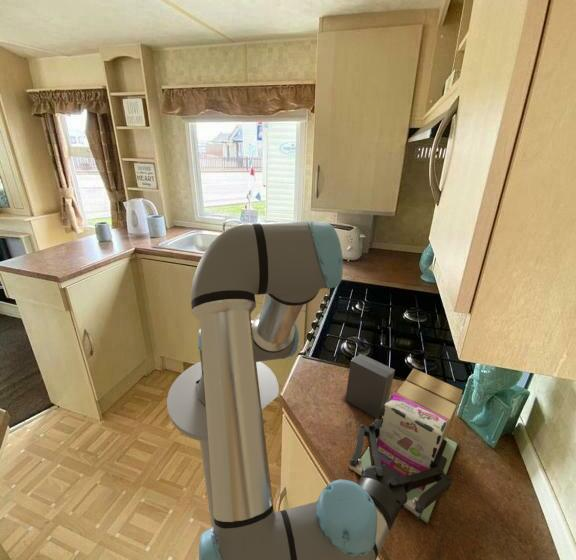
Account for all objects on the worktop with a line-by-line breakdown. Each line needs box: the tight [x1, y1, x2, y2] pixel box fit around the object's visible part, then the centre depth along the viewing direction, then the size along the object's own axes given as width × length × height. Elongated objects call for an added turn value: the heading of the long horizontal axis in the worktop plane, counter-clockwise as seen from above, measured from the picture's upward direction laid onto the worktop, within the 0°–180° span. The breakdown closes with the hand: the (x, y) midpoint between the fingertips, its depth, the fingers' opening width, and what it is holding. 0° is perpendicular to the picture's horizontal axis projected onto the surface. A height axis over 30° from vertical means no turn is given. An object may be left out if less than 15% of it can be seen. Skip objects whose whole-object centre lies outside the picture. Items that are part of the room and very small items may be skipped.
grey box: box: [344, 353, 396, 419], centre depth 84 cm, size 10×6×14 cm, turn 50°
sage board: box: [355, 437, 458, 524], centre depth 73 cm, size 16×22×1 cm
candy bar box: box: [377, 392, 448, 491], centre depth 65 cm, size 11×5×16 cm, turn 50°
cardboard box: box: [396, 368, 464, 446], centre depth 73 cm, size 11×10×16 cm
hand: (415, 428), depth 68 cm, fingers closed on candy bar box, 11 cm apart
